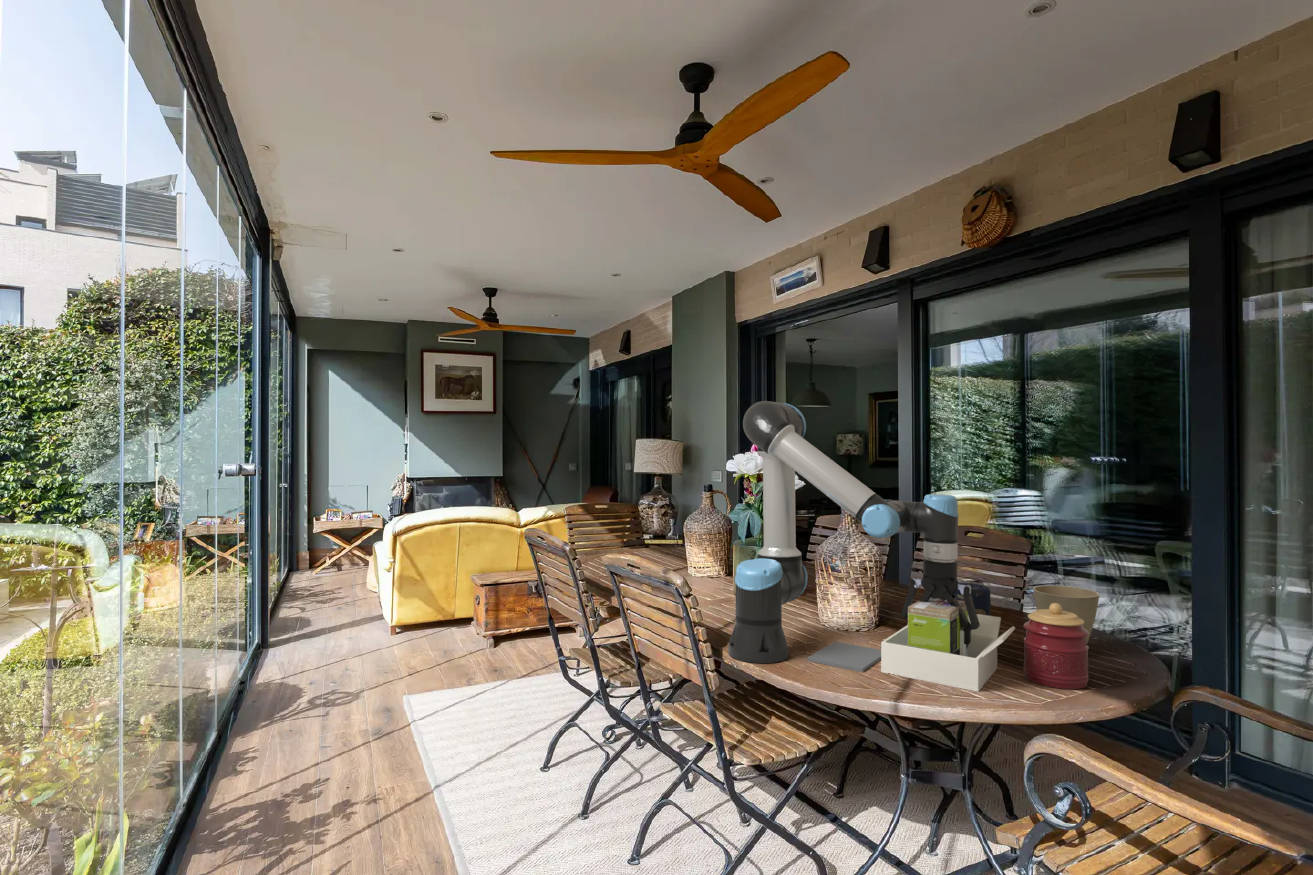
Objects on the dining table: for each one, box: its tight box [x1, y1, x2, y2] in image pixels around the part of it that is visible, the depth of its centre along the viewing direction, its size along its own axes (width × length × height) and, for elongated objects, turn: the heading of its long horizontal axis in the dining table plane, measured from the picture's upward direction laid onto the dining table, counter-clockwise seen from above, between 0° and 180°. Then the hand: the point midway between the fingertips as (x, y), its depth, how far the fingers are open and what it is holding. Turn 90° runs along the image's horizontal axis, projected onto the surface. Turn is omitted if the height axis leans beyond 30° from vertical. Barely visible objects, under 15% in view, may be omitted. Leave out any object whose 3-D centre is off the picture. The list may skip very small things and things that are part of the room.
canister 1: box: [954, 581, 992, 616], centre depth 183 cm, size 10×10×18 cm
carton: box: [880, 614, 1016, 692], centre depth 167 cm, size 26×25×12 cm
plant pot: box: [1033, 584, 1100, 646], centre depth 182 cm, size 15×15×16 cm
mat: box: [806, 641, 881, 673], centre depth 176 cm, size 14×18×1 cm
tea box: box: [907, 598, 968, 657], centre depth 166 cm, size 15×10×15 cm
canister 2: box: [1022, 603, 1090, 690], centre depth 160 cm, size 13×13×18 cm
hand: (938, 652), depth 166 cm, fingers closed on tea box, 10 cm apart
